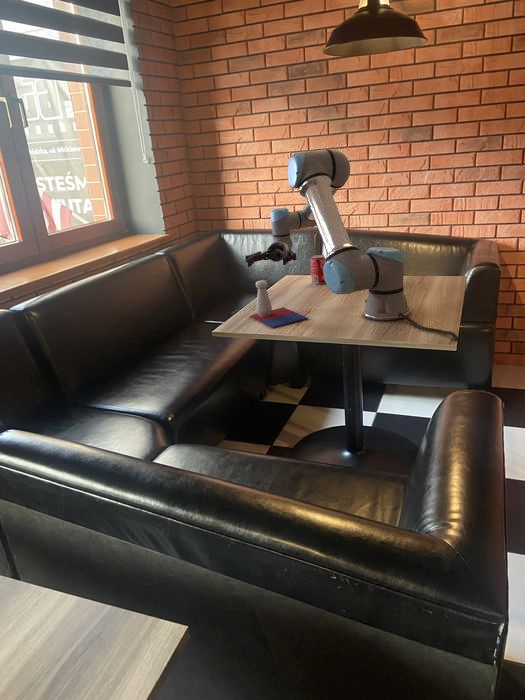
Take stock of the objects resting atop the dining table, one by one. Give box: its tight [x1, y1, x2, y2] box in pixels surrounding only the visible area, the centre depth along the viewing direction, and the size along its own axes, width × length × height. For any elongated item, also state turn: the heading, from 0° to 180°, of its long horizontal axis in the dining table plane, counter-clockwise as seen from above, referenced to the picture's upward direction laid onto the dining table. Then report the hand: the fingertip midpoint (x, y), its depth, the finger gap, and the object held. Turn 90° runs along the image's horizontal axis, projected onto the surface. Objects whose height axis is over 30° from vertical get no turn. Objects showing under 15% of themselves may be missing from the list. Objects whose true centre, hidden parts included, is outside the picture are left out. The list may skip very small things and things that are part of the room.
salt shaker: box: [255, 279, 273, 317], centre depth 196 cm, size 6×6×13 cm
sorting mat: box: [250, 306, 308, 329], centre depth 195 cm, size 18×14×1 cm
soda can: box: [309, 254, 326, 285], centre depth 235 cm, size 7×7×12 cm
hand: (266, 262), depth 201 cm, fingers open, 13 cm apart
